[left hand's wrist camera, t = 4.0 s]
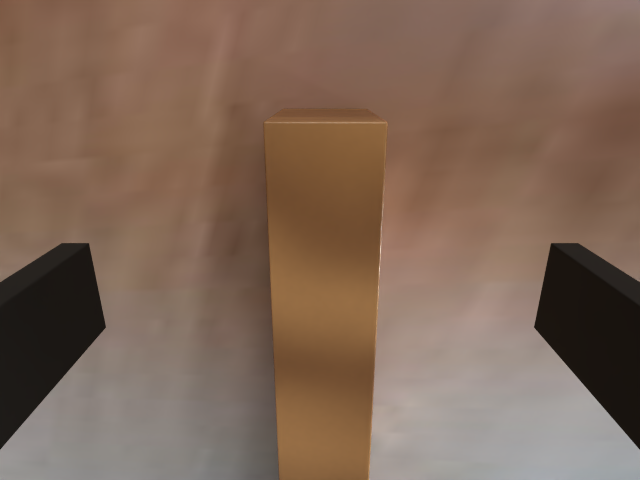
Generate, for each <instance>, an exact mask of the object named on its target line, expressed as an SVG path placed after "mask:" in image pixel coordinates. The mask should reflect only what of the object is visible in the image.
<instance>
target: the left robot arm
mask: <svg viewBox="0 0 640 480" xmlns="http://www.w3.org/2000/svg"><path fill="white" fill-rule="evenodd" d="M105 328H106V326H105V321H104V316H103V311H102V306H101V301H100V296H99V291H98V286H97V281H96V276H95V271H94V266H93V261H92V256H91V252H90V247H89V243H62V244H60V245H58V246H57V247H55V248H54V249H52V250H50V251H49V252H47V253H46V254H44V255H43V256H41V257H39V258H38V259H36V260H35V261H33V262H32V263H30V264H28V265H27V266H25V267H24V268H22V269H21V270H19V271H17V272H16V273H14V274H13V275H11V276H9V277H8V278H6V279H5V280H3V281H2V282H0V449H1V448H2V447H3V446H4V444H5V443H6V442H7V441H8V440H9V439H10V438H11V436H12V435H13V434H14V433H15V432H16V431H17V429H18V428H19V427H20V426H21V425H22V424H23V423H24V421H25V420H26V419H27V418H28V417H29V416H30V414H31V413H32V412H33V411H34V410H35V409H36V407H37V406H38V405H39V404H40V403H41V402H42V401H43V399H44V398H45V397H46V396H47V395H48V394H49V392H50V391H51V390H52V389H53V388H54V387H55V386H56V384H57V383H58V382H59V381H60V380H61V379H62V377H63V376H64V375H65V374H66V373H67V372H68V370H69V369H70V368H71V367H72V366H73V365H74V364H75V362H76V361H77V360H78V359H79V358H80V357H81V355H82V354H83V353H84V352H85V351H86V350H87V349H88V347H89V346H90V345H91V344H92V343H93V342H94V340H95V339H96V338H97V337H98V336H99V335H100V333H101V332H102V331H103V330H104V329H105ZM534 328H535V329H536V330H537V331H538V332H539V333H540V335H541V336H542V337H543V338H544V339H545V340H546V342H547V343H548V344H549V345H550V346H551V347H552V349H553V350H554V351H555V352H556V353H557V354H558V355H559V357H560V358H561V359H562V360H563V361H564V362H565V364H566V365H567V366H568V367H569V368H570V369H571V370H572V372H573V373H574V374H575V375H576V376H577V377H578V379H579V380H580V381H581V382H582V383H583V384H584V386H585V387H586V388H587V389H588V390H589V391H590V392H591V394H592V395H593V396H594V397H595V398H596V399H597V401H598V402H599V403H600V404H601V405H602V406H603V407H604V409H605V410H606V411H607V412H608V413H609V414H610V416H611V417H612V418H613V419H614V420H615V421H616V423H617V424H618V425H619V426H620V427H621V428H622V429H623V431H624V432H625V433H626V434H627V435H628V436H629V438H630V439H631V440H632V441H633V442H634V443H635V444H636V446H637V447H638V448H639V449H640V282H638V281H637V280H635V279H634V278H632V277H631V276H629V275H627V274H626V273H624V272H623V271H621V270H619V269H618V268H616V267H615V266H613V265H612V264H610V263H608V262H607V261H605V260H604V259H602V258H601V257H599V256H597V255H596V254H594V253H593V252H591V251H590V250H588V249H586V248H585V247H583V246H582V245H580V244H578V243H551V247H550V252H549V256H548V261H547V266H546V271H545V276H544V281H543V286H542V291H541V296H540V301H539V306H538V311H537V316H536V321H535V326H534Z"/></svg>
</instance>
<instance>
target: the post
mask: <svg viewBox="0 0 640 480" xmlns="http://www.w3.org/2000/svg"><path fill="white" fill-rule="evenodd" d="M263 127H264V150H265V173H266V195H267V218H268V240H269V263H270V286H271V308H272V331H273V353H274V376H275V399H276V421H277V444H278V466H279V480H369V467H370V448H371V429H372V410H373V391H374V372H375V354H376V335H377V316H378V297H379V278H380V259H381V240H382V221H383V203H384V184H385V165H386V146H387V127H388V123H387V122H386V121H385V120H383V119H382V118H380V117H378V116H377V115H375V114H374V113H372V112H371V111H369V110H368V109H283V110H281V111H280V112H278V113H277V114H275V115H274V116H272V117H271V118H269V119H268V120H266V121H265V122H264V123H263Z"/></svg>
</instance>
